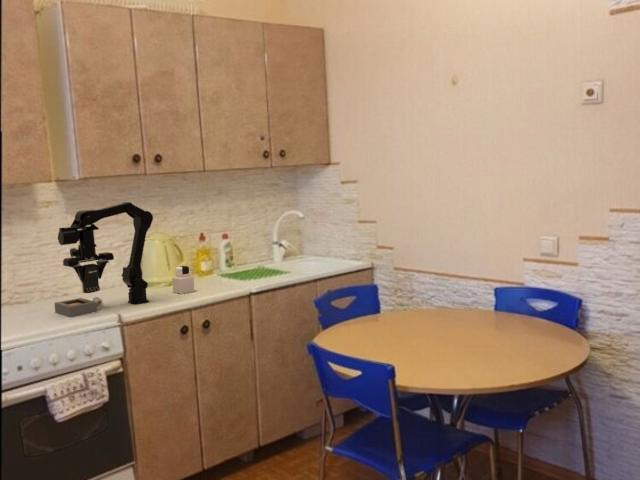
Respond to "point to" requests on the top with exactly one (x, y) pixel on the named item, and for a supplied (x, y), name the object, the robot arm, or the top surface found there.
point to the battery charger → (90, 278)
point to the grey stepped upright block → (183, 280)
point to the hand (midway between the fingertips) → (90, 280)
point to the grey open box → (75, 307)
